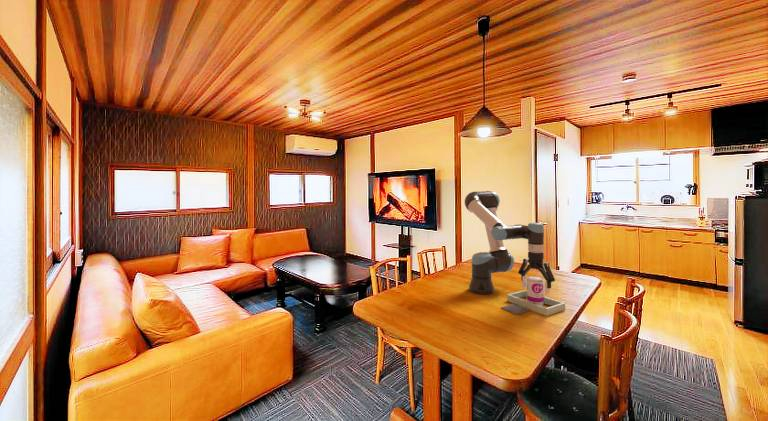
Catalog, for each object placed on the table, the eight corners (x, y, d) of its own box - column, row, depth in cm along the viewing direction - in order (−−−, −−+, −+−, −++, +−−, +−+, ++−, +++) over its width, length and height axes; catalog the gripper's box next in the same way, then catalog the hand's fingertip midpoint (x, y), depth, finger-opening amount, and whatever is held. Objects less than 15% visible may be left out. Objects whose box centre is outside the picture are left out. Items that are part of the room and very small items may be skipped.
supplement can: (545, 308, 160) (546, 280, 159) (528, 307, 162) (529, 280, 161) (540, 302, 168) (541, 276, 167) (524, 301, 170) (525, 275, 169)
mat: (501, 308, 162) (501, 307, 162) (514, 304, 166) (514, 303, 166) (517, 314, 153) (517, 313, 153) (530, 310, 157) (530, 309, 157)
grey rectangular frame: (507, 300, 172) (507, 294, 172) (524, 295, 179) (524, 290, 179) (546, 315, 151) (546, 309, 151) (565, 309, 158) (565, 303, 158)
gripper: (511, 248, 172) (511, 285, 173) (553, 256, 150) (553, 298, 151) (520, 247, 176) (520, 283, 177) (562, 254, 154) (562, 295, 155)
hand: (535, 290), depth 164 cm, fingers open, 13 cm apart
